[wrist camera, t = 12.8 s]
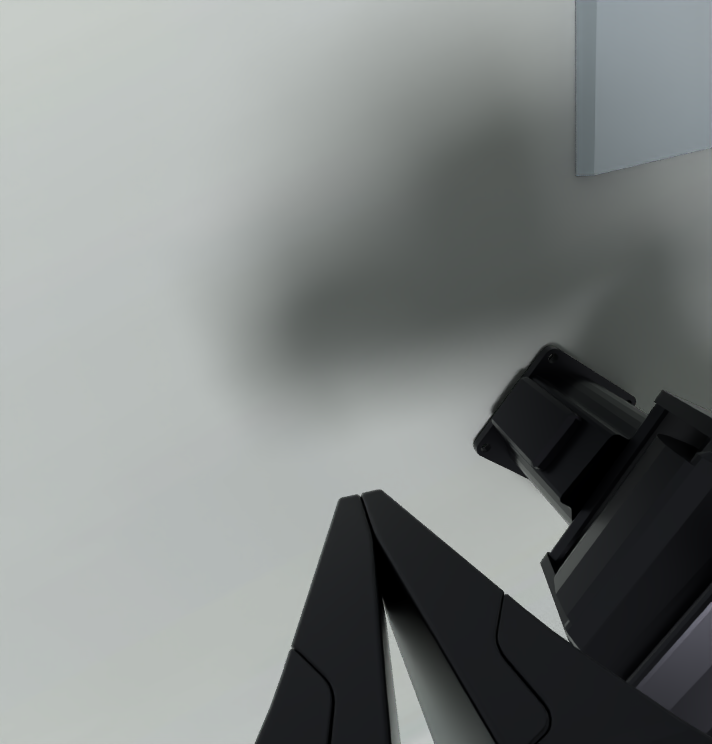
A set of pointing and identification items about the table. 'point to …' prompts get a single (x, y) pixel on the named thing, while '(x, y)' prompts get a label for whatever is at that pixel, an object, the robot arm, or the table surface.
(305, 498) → the table surface
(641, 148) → the dock
